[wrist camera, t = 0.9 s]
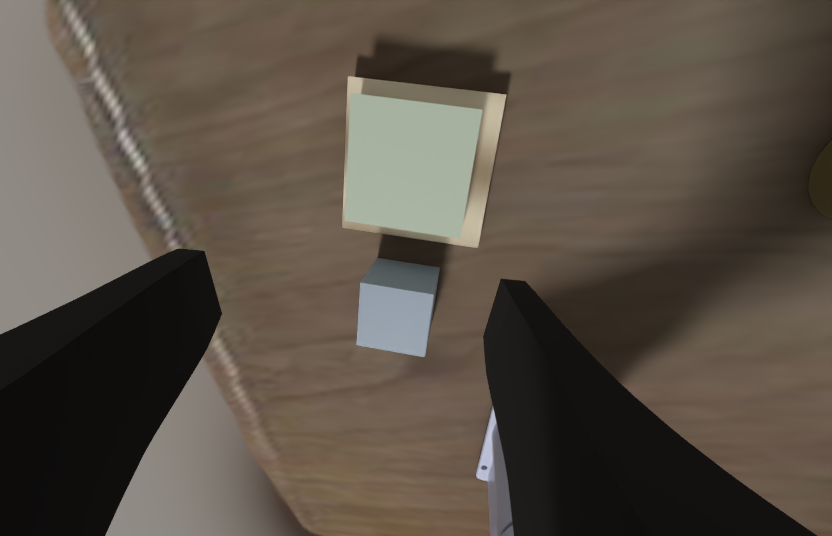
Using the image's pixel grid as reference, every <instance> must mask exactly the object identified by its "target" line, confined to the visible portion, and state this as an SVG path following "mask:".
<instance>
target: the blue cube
mask: <svg viewBox="0 0 832 536" xmlns="http://www.w3.org/2000/svg"><path fill="white" fill-rule="evenodd" d="M439 270H440V267H433V266H427V265H421V264H414V263H408V262H402V261H395V260H389V259H383V258H377V259H376V261H375V262H374V264H373V265H372V267H371V268H370V269H369V271H368V272H367V274H366V275H365V277H364V278H363V280H362V281H361V283H360V298H359V315H358V331H357V345H360V346H365V347H371V348H376V349H382V350H387V351H393V352H399V353H404V354H410V355H415V356H421V357H425V354H426V349H427V344H428V339H429V334H430V329H431V324H432V317H433V310H434V304H435V297H436V290H437V284H438V277H439Z"/></svg>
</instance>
